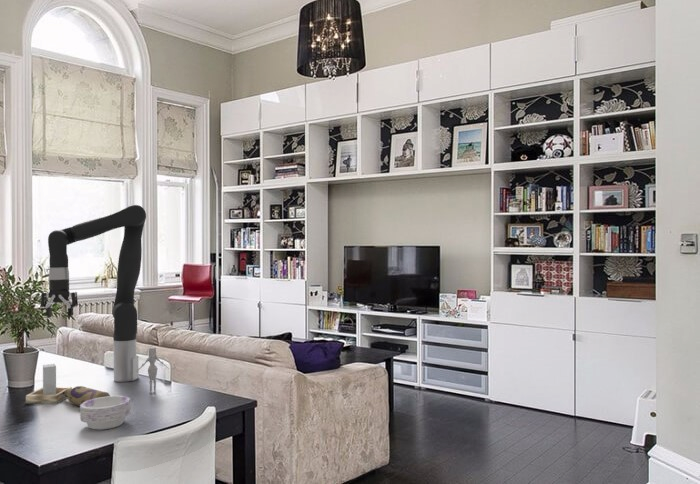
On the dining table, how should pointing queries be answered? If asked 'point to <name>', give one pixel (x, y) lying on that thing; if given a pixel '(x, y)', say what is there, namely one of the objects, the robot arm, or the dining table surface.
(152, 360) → the human figurine
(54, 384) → the skincare box
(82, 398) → the decorative bottle
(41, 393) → the pocket tray
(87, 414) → the paper bowls
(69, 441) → the dining table surface
